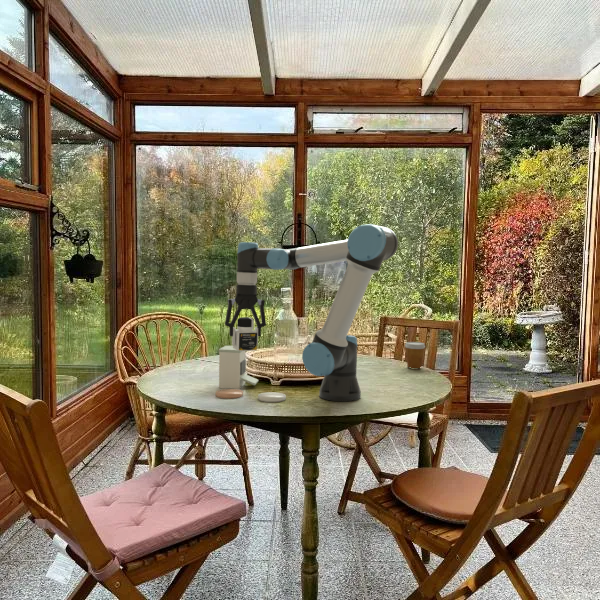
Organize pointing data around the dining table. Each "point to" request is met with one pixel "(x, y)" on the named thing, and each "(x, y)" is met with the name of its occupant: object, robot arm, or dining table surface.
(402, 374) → the dining table surface
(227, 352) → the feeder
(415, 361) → the disposable coffee cup
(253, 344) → the medicine bottle
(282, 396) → the white domed round part
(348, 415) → the dining table surface
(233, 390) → the peach round disc
